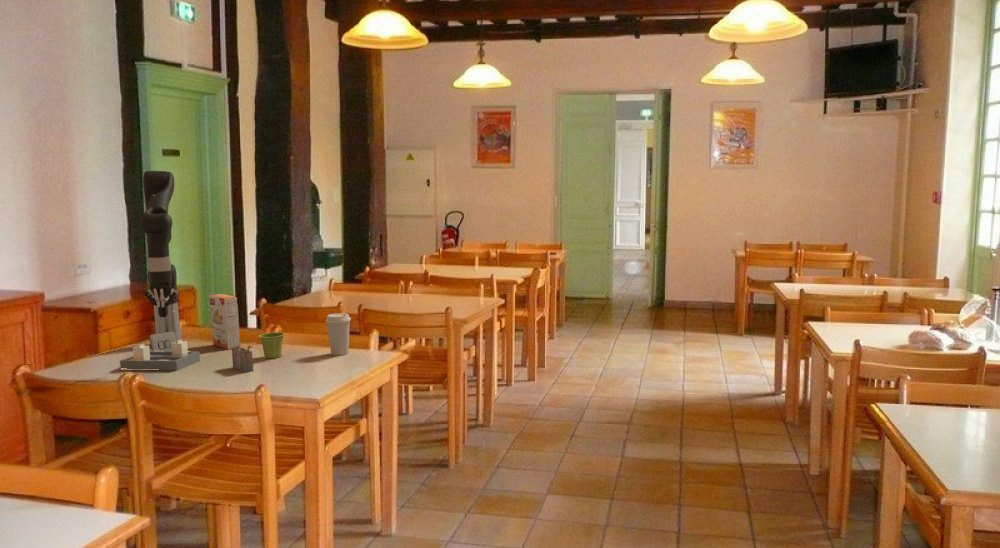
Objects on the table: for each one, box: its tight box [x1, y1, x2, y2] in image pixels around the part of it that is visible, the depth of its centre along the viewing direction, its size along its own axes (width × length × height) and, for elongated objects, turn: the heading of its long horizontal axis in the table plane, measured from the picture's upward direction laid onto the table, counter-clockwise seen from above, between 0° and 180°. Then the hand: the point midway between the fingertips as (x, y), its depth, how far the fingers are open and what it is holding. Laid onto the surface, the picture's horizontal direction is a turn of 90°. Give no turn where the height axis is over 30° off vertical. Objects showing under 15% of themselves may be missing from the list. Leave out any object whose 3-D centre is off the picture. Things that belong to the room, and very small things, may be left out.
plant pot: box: [258, 331, 285, 360], centre depth 312 cm, size 9×9×9 cm
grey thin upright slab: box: [231, 344, 254, 374], centre depth 294 cm, size 11×3×10 cm, turn 41°
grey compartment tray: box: [119, 350, 201, 371], centre depth 304 cm, size 16×22×4 cm
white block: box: [171, 338, 189, 355], centre depth 306 cm, size 4×4×7 cm
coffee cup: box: [325, 312, 352, 357], centre depth 315 cm, size 10×10×15 cm
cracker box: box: [209, 293, 242, 351], centre depth 333 cm, size 14×6×21 cm, turn 42°
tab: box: [132, 343, 151, 360], centre depth 300 cm, size 4×4×7 cm
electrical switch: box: [149, 332, 176, 351], centre depth 320 cm, size 9×5×9 cm, turn 134°
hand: (163, 317), depth 297 cm, fingers closed
